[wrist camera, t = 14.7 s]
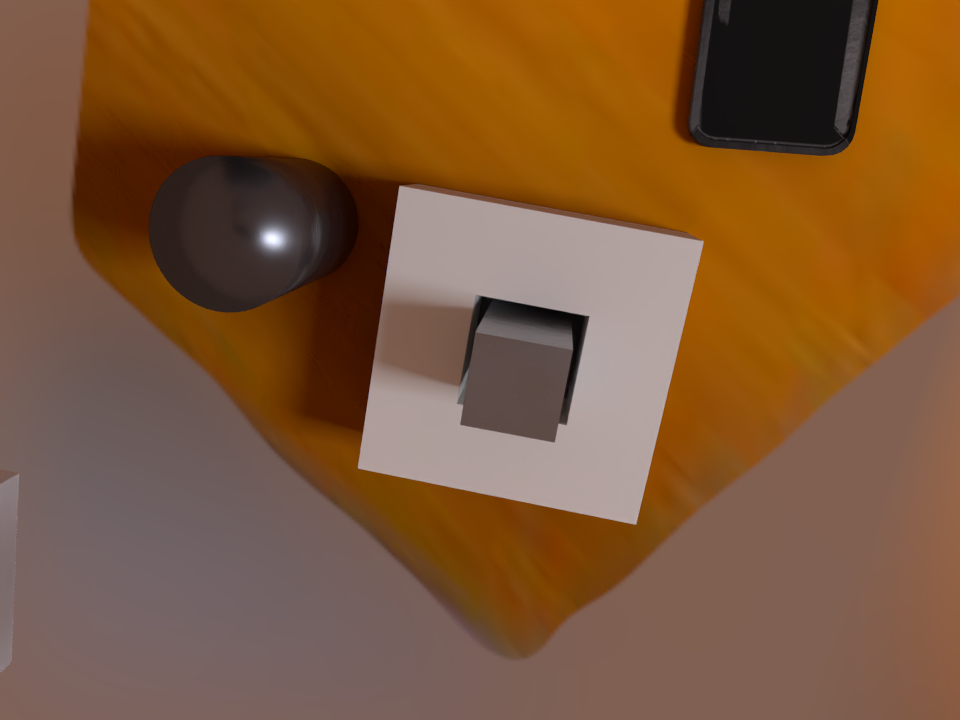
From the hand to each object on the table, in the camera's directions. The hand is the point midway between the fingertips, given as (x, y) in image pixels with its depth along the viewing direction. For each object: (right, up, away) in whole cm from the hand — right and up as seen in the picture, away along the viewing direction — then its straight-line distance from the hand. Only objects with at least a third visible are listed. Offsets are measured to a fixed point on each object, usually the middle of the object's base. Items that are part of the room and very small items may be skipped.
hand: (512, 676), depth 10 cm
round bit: (-10, +11, +33) cm, 37 cm away
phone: (+14, +22, +29) cm, 39 cm away
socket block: (+2, +5, +34) cm, 34 cm away
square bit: (+2, +5, +33) cm, 34 cm away
